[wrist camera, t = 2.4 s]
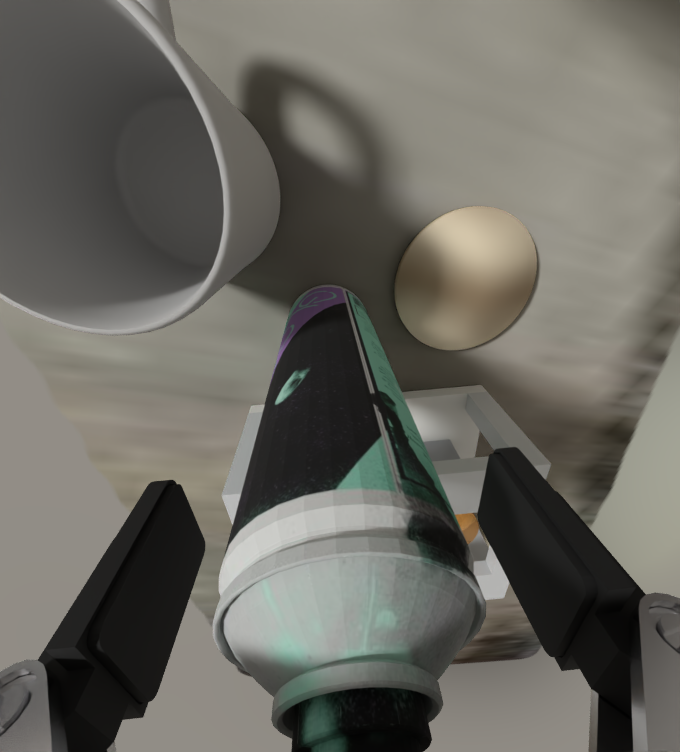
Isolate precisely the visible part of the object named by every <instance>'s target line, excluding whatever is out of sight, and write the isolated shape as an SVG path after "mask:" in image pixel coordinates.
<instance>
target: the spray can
mask: <svg viewBox="0 0 680 752" xmlns="http://www.w3.org/2000/svg"><path fill="white" fill-rule="evenodd" d="M219 593H220V596H221V599H220V601H219V604H218V606H217V609H216V613H215V617H214V621H213V638H214V640H215V643H216V644H217V647H218V649H219V651H220V652H221V653H222V654H223V655H224V656H225V657H226V658H227V659H228V660H229V661H230V662H231V663H233V664H235V665H236V666H237V667H239V668H241V669H242V670H244V671H246V672H249V673H250V675H251V676H252V677H253V678H254V679H255V680H256V681H257V682H258V683H259V684H260V685H261V686H262V687H263V688H264V689H265V690H266V691H267V692H268V693H269V694H271V695H272V696H273V697H274V701H273V708H272V709H273V710H272V723H273V726H274V727H275V728H276V729H277V730H278V731H279V732H280V733H282V734H284V735H286V736H287V737H290V738H292V752H423V751H425V750H426V749H427V748H428V747H429V746H430V743H431V741H432V738H431V733H430V729H429V725H428V723H429V722H430V721H432V720H433V719H434V718H435V717H436V716H437V715H438V714H439V713H440V711H441V709H442V706H443V700H442V696H441V691H440V688H439V683H438V681H437V680H438V679H439V678H440V677H441V675H442V674H443V673H444V672H445V670H446V669H447V668H448V666H449V665H450V664H451V662H452V661H453V659H454V658H455V656H456V655H457V653H458V652H459V651H460V650H461V649H462V648H463V647H465V646H466V645H467V644H468V643H470V642H471V640H472V639H473V638H474V637H475V635H476V634H477V633H478V632H479V630H480V628H481V626H482V624H483V621H484V619H485V617H486V602H485V599H484V596H483V594H482V591H481V589H480V586H479V584H478V582H477V579H476V577H475V575H474V560H473V557H472V554H471V552H470V549H469V546H468V544H467V542H466V539H465V537H464V535H463V532H462V530H461V528H460V525H459V523H458V521H457V518H456V516H455V514H454V512H453V509H452V507H451V505H450V502H449V500H448V498H447V495H446V493H445V491H444V488H443V486H442V484H441V482H440V479H439V477H438V475H437V472H436V470H435V468H434V465H433V463H432V461H431V459H430V456H429V454H428V452H427V449H426V447H425V445H424V442H423V440H422V438H421V435H420V433H419V431H418V429H417V426H416V424H415V422H414V419H413V417H412V415H411V412H410V410H409V408H408V406H407V403H406V401H405V399H404V396H403V394H402V392H401V389H400V387H399V385H398V382H397V380H396V378H395V376H394V373H393V371H392V369H391V366H390V364H389V362H388V359H387V357H386V355H385V352H384V350H383V348H382V346H381V343H380V341H379V339H378V336H377V334H376V332H375V329H374V327H373V325H372V323H371V320H370V318H369V316H368V313H367V311H366V309H365V307H364V305H363V304H362V302H361V301H360V299H359V298H358V297H357V296H356V295H355V294H354V293H352V292H351V291H349V290H348V289H346V288H343V287H341V286H336V285H320V286H316V287H313V288H311V289H309V290H307V291H305V292H304V293H303V294H301V295H300V296H299V297H298V299H297V300H296V301H295V302H294V304H293V306H292V308H291V310H290V313H289V316H288V319H287V323H286V327H285V331H284V334H283V338H282V342H281V346H280V349H279V353H278V357H277V361H276V364H275V368H274V372H273V376H272V379H271V383H270V387H269V391H268V394H267V398H266V402H265V406H264V410H263V413H262V417H261V421H260V425H259V428H258V432H257V436H256V440H255V443H254V447H253V451H252V455H251V458H250V462H249V466H248V470H247V473H246V477H245V481H244V485H243V488H242V492H241V496H240V500H239V503H238V507H237V511H236V515H235V518H234V522H233V526H232V530H231V534H230V537H229V541H228V545H227V549H226V552H225V556H224V560H223V564H222V567H221V571H220V575H219Z"/></svg>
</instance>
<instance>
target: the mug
mask: <svg viewBox="0 0 680 752" xmlns="http://www.w3.org/2000/svg"><path fill="white" fill-rule="evenodd" d="M279 213H280V186H279V180H278V175H277V171H276V168H275V165H274V162H273V159H272V157H271V155H270V153H269V150H268V148H267V147H266V145H265V143H264V141H263V140H262V138H261V136H260V135H259V133H258V132H257V131H256V129H255V128H254V126H253V125H252V124H251V123H250V122H249V121H248V119H247V118H246V117H245V116H244V115H243V114H242V113H241V112H240V111H239V110H238V109H237V108H236V107H235V106H234V105H233V104H232V103H231V102H230V101H229V100H228V99H227V98H226V96H225V95H224V94H223V93H222V92H221V91H220V90H219V89H218V88H217V86H216V85H215V84H214V83H213V82H212V81H211V80H210V79H209V77H208V76H207V75H206V74H205V73H204V72H203V71H202V70H201V68H200V67H199V66H198V65H197V64H196V63H195V62H194V61H193V59H192V58H191V57H190V56H189V55H188V54H187V53H186V52H185V51H184V49H183V48H182V47H181V46H180V45H179V44H178V43H177V42H176V38H175V32H174V26H173V20H172V14H171V9H170V4H169V0H0V298H1V299H3V300H4V301H6V302H8V303H9V304H11V305H13V306H15V307H17V308H19V309H21V310H23V311H25V312H27V313H29V314H31V315H33V316H35V317H37V318H40V319H42V320H45V321H47V322H50V323H52V324H55V325H59V326H62V327H65V328H69V329H72V330H76V331H81V332H86V333H92V334H101V335H133V334H140V333H146V332H151V331H154V330H157V329H161V328H164V327H166V326H169V325H171V324H173V323H175V322H177V321H179V320H181V319H183V318H185V317H186V316H188V315H189V314H191V313H192V312H194V311H195V310H196V309H198V308H199V307H200V306H201V305H203V304H204V303H205V302H206V301H207V300H208V299H209V298H211V297H212V296H213V295H214V294H215V293H216V292H217V291H218V290H220V289H221V288H222V287H223V286H224V285H225V284H226V283H227V282H229V281H230V280H231V279H232V278H233V277H234V276H235V275H237V274H238V273H239V272H240V271H241V270H242V269H243V268H245V267H246V266H247V265H249V264H250V263H252V262H253V261H254V260H255V259H256V258H257V257H258V256H259V255H260V254H261V253H262V252H263V251H264V250H265V248H266V247H267V245H268V244H269V242H270V240H271V239H272V237H273V234H274V232H275V229H276V226H277V223H278V219H279Z"/></svg>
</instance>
